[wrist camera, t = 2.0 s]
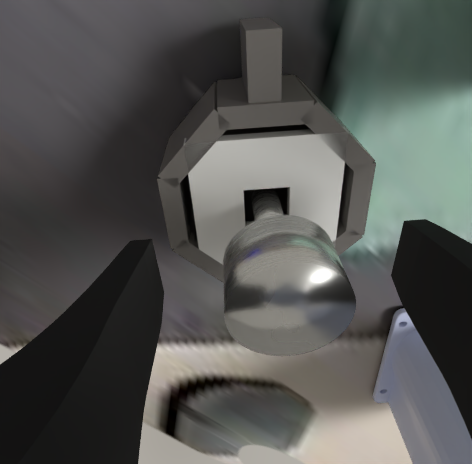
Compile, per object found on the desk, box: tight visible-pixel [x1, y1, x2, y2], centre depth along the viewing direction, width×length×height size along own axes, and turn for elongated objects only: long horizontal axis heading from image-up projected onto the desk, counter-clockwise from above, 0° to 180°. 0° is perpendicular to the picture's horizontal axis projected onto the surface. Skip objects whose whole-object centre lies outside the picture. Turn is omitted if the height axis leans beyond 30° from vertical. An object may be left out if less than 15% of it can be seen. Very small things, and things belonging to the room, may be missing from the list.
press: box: [157, 17, 376, 283], centre depth 14 cm, size 9×7×4 cm
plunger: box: [223, 188, 356, 356], centre depth 11 cm, size 3×3×6 cm
